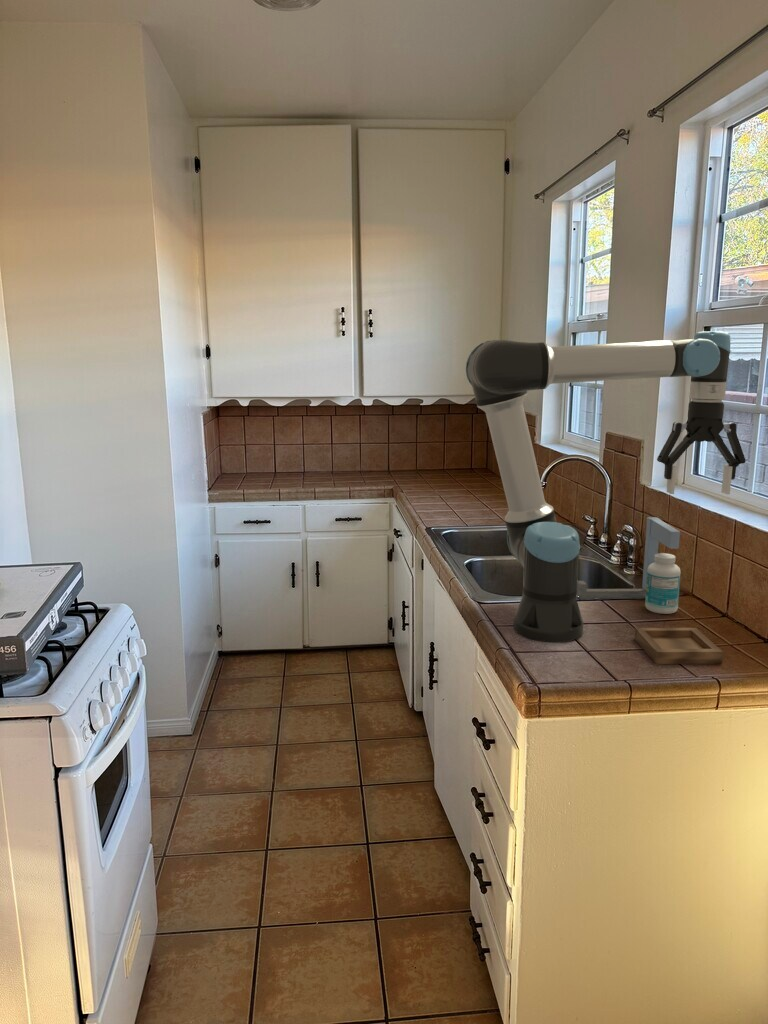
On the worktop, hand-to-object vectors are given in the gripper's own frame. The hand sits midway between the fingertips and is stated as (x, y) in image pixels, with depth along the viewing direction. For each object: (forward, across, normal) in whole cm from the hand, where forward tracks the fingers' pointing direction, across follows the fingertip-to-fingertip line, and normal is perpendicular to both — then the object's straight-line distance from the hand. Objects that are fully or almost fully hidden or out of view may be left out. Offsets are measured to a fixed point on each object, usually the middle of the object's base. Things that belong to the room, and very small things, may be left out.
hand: (697, 493), depth 172 cm
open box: (+28, -13, -27) cm, 41 cm away
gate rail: (+28, -13, +7) cm, 32 cm away
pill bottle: (+28, -7, -2) cm, 29 cm away
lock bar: (+26, -7, +1) cm, 27 cm away
